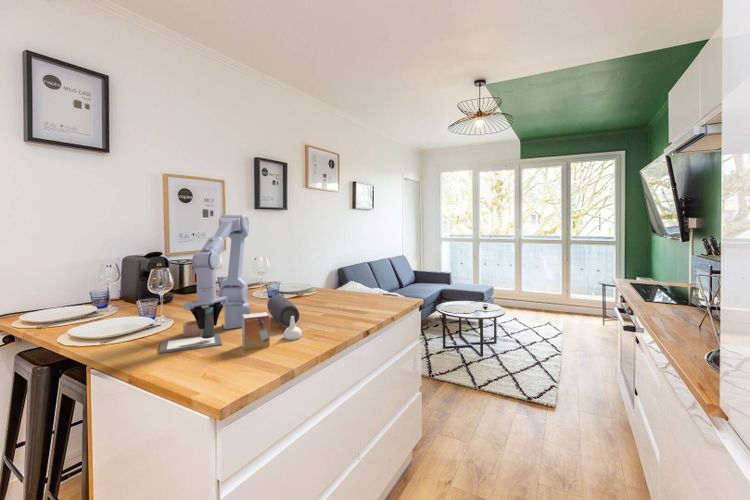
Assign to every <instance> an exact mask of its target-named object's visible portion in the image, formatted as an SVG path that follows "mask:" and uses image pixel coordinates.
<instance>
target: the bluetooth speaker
mask: <svg viewBox="0 0 750 500" xmlns="http://www.w3.org/2000/svg"><path fill="white" fill-rule="evenodd" d="M266 306H267V310H268V312H269V314H270V315H271V317H272V318H273V319H274V320H275V321H276V322H277V323H278V324H279V326H282V327H285V328H288V327H289V326H290V320H291V316H294V321H295V325H296V324H297V323H298V322H299V319H300V311H299V309H298V308H297V306H296V305H295V304H294V303H293V302H292V301H291V300H289V299H288V298H287V297H284V296H283V295H279V294H276V295H273V296H271V297H270V298H269V299H268V301H267V305H266Z"/></svg>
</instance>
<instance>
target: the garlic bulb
mask: <svg viewBox="0 0 750 500" xmlns="http://www.w3.org/2000/svg"><path fill="white" fill-rule="evenodd" d="M302 333H303V332H302V329H300V328H299V327H298V326H296V324H295V321H294V316H291V320H290V326H289V327H286V329H284V331H283V338H284V339H285V340H287V341H294V340H295V341H296V340H299V339H300V338H301V337H302Z"/></svg>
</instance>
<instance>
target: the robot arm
mask: <svg viewBox="0 0 750 500" xmlns="http://www.w3.org/2000/svg"><path fill="white" fill-rule="evenodd" d="M249 230H250V221H249V218H248V216H247V215H246V214H245V213H243V214H223V213H222V214H220V216H219V219H218V228H217V230H216V232H215V233H214V236H210V237H209V238H208V239H207V240H206V243H204V244H203V245H204V246H203V247H202V248H201V250H200V251H197V252H196V253H194V254H193V256H192V260H191V263H192V264H191V265H192V267H193V270H194V274H196V277H195V278H196V300H194V301H190V302H186V303H183V310H184V311H190V312H191V314H192V316H193V317H194V319H195V320H196V322H197V325H198V328H199V329H204V314H205V309H203V308H202V307H207V306H212V307H214V327H215V326H218V325H217V324H218V320H219V318H220V317H219V316H220V314H221V312H222V310H224V311H223V315H224V317H223V318H224V322H223V323H222V325H223V329H224V330H230V329H238V328H242V315H243V314H251V310H250V303H249V302H247V301H248V299H249V288H248V286H249V284H248V283H247V282H246V281H244V280H243V279H242V271H243V264H244V263H243V262H244V259H243V258H244V249H245V239H246V238H247V237H248V236H249ZM227 238H230V251H229V261H228V270H227V271H228V272H227V278H226V279H225V280H224V281H222V282H221V283H220V288H219V291H218V296H217V290H216V289H217V288H216V286H217V285H216V282H217V281H216V269H217V267H218V266H219V261H220V254H221V253H222V252H223V250H224V248H225V242H224V241H225V240H227Z"/></svg>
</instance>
